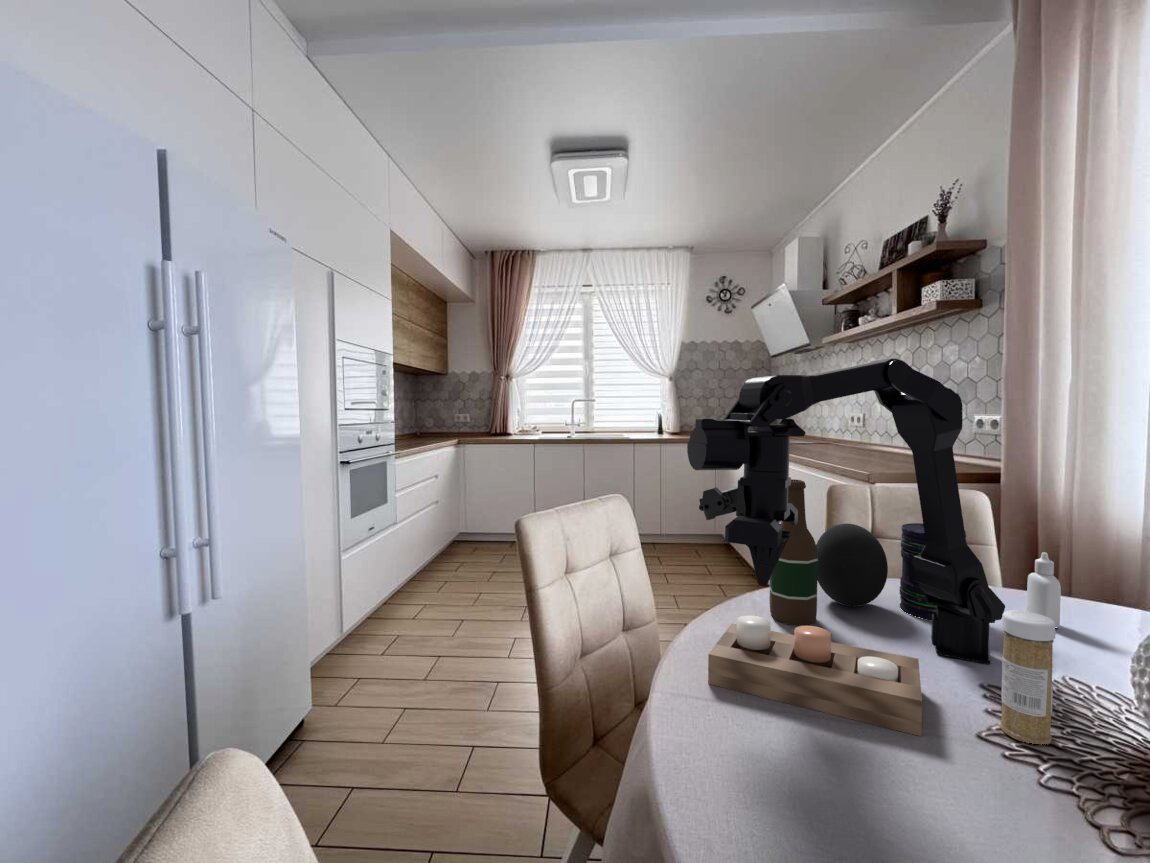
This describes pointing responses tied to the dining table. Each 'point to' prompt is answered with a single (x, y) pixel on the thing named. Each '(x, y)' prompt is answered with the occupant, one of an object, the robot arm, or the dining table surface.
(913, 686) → the knob mount
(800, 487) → the beer bottle
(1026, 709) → the sprinkles bottle
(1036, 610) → the eye dropper bottle
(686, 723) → the dining table surface
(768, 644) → the knob
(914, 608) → the storage jar
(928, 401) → the robot arm
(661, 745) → the dining table surface
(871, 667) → the knob
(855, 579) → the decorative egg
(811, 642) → the middle knob
